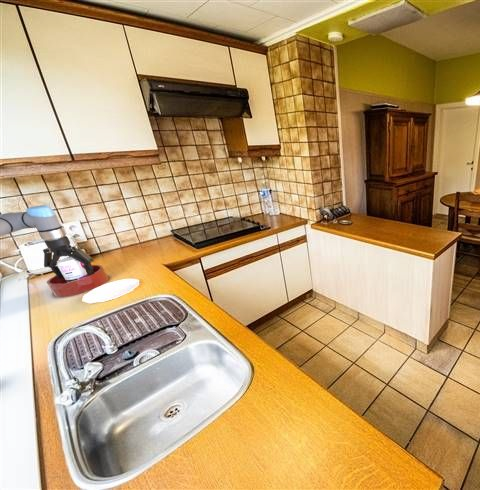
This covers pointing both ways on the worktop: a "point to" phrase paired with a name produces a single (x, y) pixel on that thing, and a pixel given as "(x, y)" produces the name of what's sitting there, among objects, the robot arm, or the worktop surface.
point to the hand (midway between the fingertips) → (77, 276)
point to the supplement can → (71, 269)
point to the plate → (110, 291)
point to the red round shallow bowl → (78, 283)
